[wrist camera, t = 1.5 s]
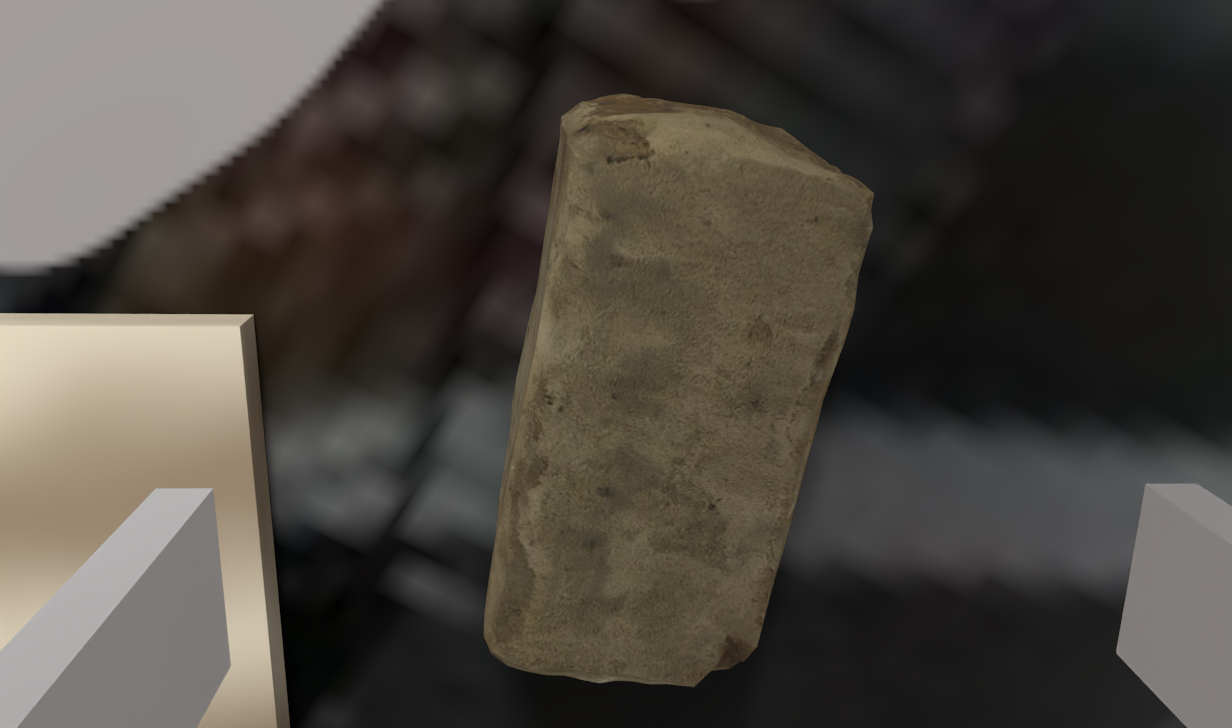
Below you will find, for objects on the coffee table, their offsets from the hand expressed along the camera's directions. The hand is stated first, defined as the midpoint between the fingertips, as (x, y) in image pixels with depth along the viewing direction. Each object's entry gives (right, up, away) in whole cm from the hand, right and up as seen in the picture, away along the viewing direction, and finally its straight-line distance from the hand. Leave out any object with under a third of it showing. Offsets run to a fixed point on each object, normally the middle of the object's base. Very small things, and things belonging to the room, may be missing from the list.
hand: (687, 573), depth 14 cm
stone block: (0, +3, +9) cm, 10 cm away
